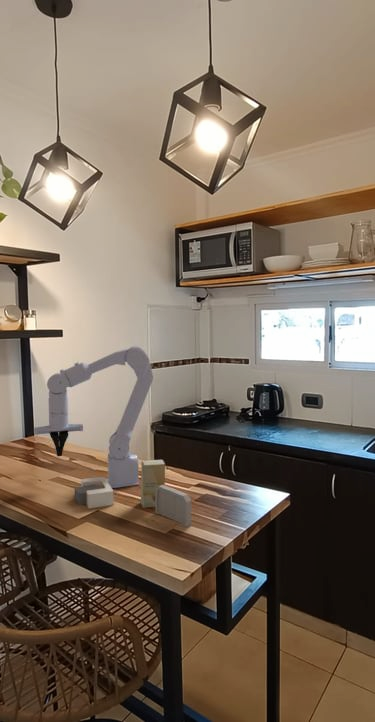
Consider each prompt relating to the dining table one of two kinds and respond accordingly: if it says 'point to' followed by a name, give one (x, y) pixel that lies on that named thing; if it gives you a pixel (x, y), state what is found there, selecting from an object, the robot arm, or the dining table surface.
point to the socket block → (98, 492)
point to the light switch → (173, 504)
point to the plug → (83, 493)
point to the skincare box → (151, 480)
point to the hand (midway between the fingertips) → (59, 455)
